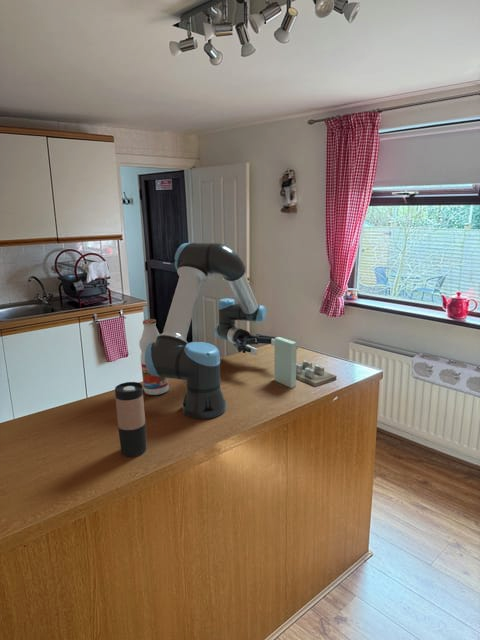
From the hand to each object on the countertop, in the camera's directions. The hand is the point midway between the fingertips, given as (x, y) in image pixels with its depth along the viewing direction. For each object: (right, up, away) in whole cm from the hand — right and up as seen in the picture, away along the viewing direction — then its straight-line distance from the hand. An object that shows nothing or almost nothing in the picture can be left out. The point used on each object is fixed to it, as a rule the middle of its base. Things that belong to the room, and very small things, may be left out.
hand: (269, 348), depth 179 cm
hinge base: (+16, -11, +2) cm, 20 cm away
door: (+6, -13, -5) cm, 15 cm away
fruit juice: (-44, -16, -11) cm, 48 cm away
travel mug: (-43, -26, -52) cm, 73 cm away
